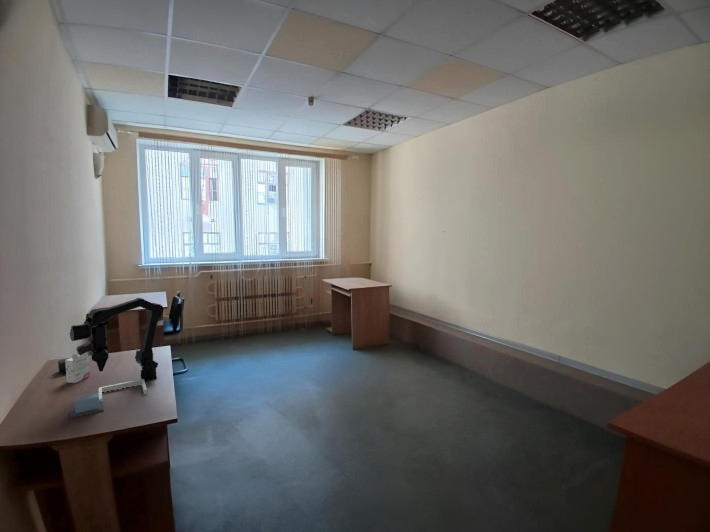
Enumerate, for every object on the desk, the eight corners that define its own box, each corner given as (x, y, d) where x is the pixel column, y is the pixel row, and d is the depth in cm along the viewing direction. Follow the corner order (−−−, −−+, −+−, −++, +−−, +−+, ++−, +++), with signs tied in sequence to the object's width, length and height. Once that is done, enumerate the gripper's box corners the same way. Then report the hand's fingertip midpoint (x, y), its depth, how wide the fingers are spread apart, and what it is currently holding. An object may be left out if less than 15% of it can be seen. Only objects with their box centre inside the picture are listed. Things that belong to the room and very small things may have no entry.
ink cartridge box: (82, 375, 185) (80, 348, 184) (90, 376, 184) (88, 349, 183) (66, 382, 177) (64, 354, 175) (74, 383, 176) (72, 354, 174)
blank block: (75, 408, 149) (75, 397, 148) (99, 403, 154) (98, 392, 153) (75, 413, 145) (74, 401, 145) (99, 408, 150) (98, 396, 149)
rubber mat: (103, 403, 156) (103, 401, 156) (103, 411, 149) (103, 408, 149) (71, 410, 149) (71, 408, 149) (70, 418, 143) (70, 416, 143)
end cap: (59, 375, 185) (58, 363, 184) (57, 371, 190) (57, 359, 189) (83, 370, 192) (82, 358, 191) (81, 367, 197) (80, 355, 196)
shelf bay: (144, 383, 177) (143, 378, 177) (146, 394, 166) (146, 389, 165) (99, 392, 166) (98, 387, 166) (98, 404, 155) (98, 399, 155)
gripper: (78, 333, 167) (80, 365, 168) (76, 344, 152) (78, 379, 153) (106, 330, 173) (108, 360, 175) (107, 339, 158) (109, 373, 160)
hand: (100, 368), depth 166 cm, fingers open, 9 cm apart
